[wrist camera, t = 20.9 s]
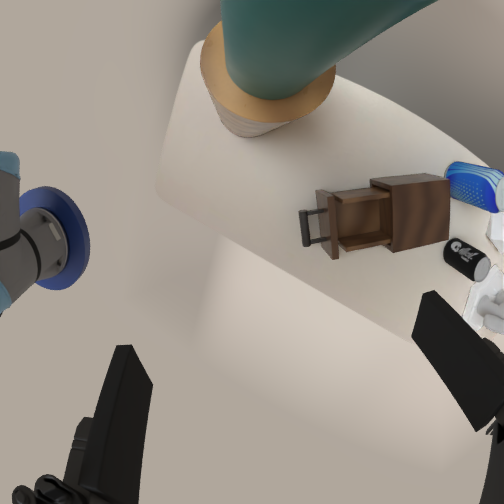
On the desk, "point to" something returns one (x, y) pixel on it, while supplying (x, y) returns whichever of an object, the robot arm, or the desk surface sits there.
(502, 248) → the crumpled paper wad
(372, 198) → the drawer
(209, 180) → the desk surface
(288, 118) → the pedestal
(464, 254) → the beverage can
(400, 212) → the cabinet
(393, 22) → the can
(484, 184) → the beer can
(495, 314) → the grey figurine
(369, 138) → the desk surface
